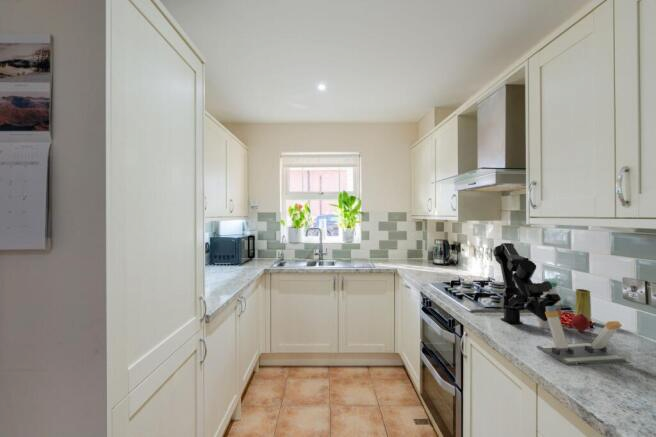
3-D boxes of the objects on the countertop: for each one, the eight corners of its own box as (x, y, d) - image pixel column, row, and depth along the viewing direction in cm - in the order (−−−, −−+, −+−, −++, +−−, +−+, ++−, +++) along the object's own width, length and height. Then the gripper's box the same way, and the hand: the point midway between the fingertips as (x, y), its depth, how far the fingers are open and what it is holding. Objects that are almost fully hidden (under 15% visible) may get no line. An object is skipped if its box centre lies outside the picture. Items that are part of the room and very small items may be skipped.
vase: (577, 322, 144) (578, 291, 144) (571, 318, 150) (572, 288, 149) (593, 324, 142) (594, 292, 142) (586, 319, 148) (587, 289, 148)
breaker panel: (536, 347, 118) (536, 341, 118) (589, 344, 120) (590, 338, 120) (566, 364, 105) (567, 357, 105) (625, 361, 107) (625, 354, 107)
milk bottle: (540, 328, 137) (540, 282, 136) (537, 322, 144) (538, 279, 143) (561, 331, 133) (562, 284, 133) (558, 325, 140) (559, 280, 140)
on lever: (588, 347, 114) (607, 321, 107) (597, 346, 115) (617, 321, 107) (591, 351, 113) (611, 325, 106) (601, 350, 113) (621, 325, 106)
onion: (582, 329, 136) (583, 310, 136) (592, 334, 131) (593, 315, 130) (568, 328, 137) (568, 310, 137) (577, 333, 131) (577, 314, 131)
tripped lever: (556, 351, 112) (544, 312, 117) (566, 351, 113) (554, 311, 118) (560, 351, 111) (548, 311, 116) (569, 351, 111) (557, 311, 116)
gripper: (513, 274, 123) (534, 311, 112) (557, 273, 125) (582, 309, 114) (500, 289, 131) (518, 325, 120) (541, 288, 133) (563, 323, 122)
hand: (545, 320), depth 119 cm, fingers closed
